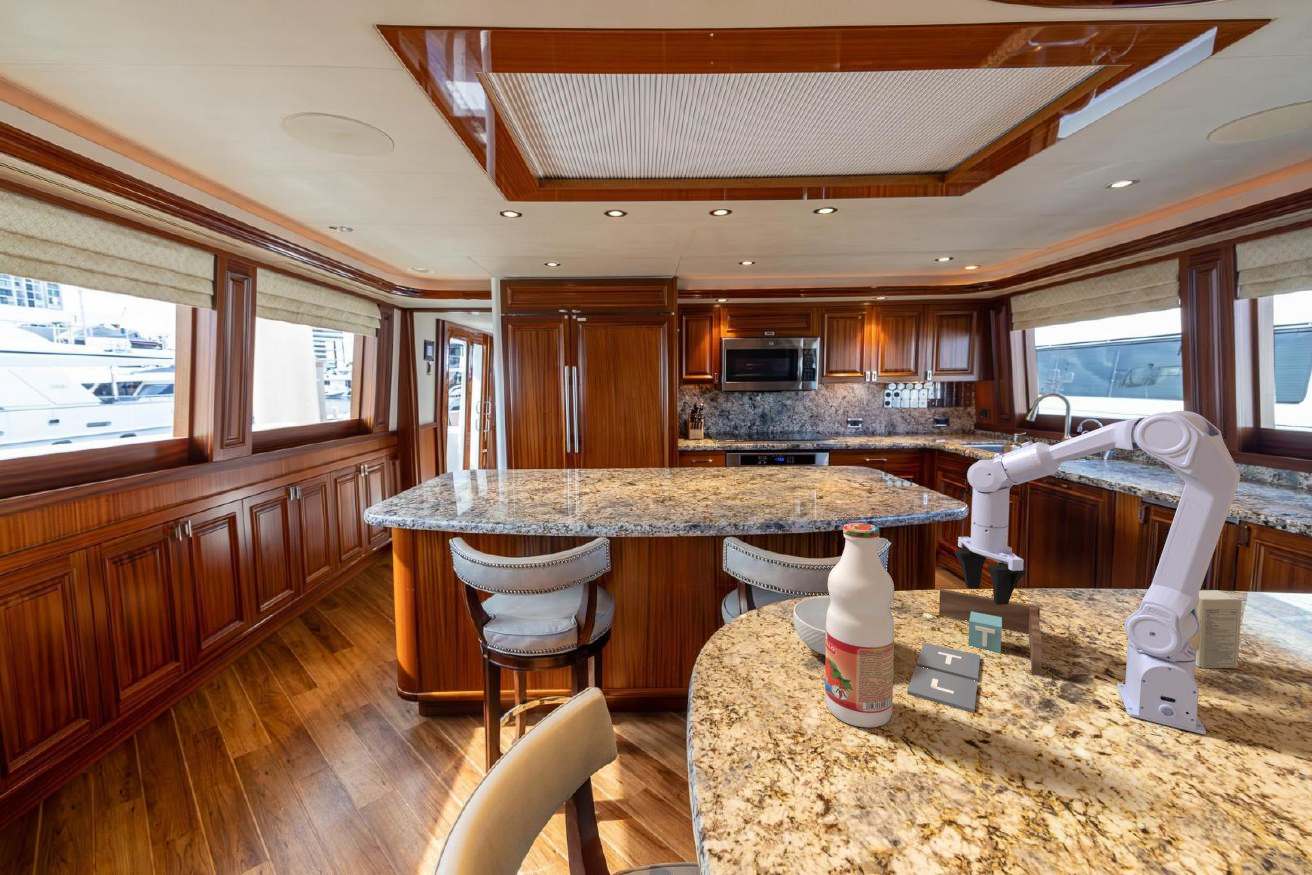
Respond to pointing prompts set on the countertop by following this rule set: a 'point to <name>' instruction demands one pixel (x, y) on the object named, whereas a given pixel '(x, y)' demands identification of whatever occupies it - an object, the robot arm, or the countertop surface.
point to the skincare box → (1217, 630)
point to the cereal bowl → (812, 622)
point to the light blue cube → (985, 632)
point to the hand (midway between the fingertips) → (986, 595)
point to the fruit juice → (860, 632)
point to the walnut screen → (1012, 616)
